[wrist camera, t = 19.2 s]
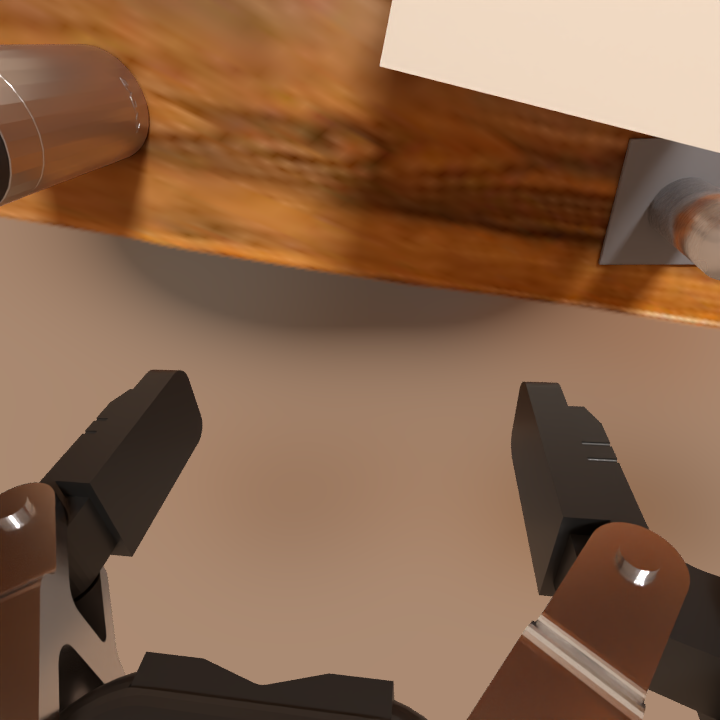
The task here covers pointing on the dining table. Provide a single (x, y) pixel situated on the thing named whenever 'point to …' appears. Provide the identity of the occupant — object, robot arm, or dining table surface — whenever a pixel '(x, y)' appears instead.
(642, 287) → the dining table surface
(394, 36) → the white c-shaped side table
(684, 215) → the pale cylinder
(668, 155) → the rubber mat
